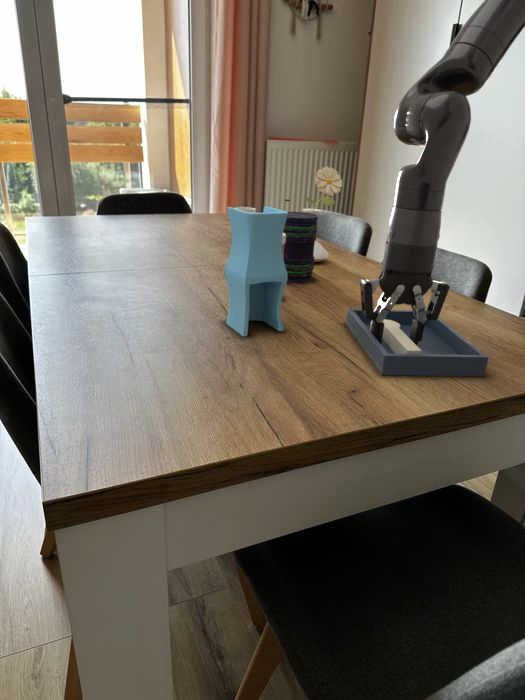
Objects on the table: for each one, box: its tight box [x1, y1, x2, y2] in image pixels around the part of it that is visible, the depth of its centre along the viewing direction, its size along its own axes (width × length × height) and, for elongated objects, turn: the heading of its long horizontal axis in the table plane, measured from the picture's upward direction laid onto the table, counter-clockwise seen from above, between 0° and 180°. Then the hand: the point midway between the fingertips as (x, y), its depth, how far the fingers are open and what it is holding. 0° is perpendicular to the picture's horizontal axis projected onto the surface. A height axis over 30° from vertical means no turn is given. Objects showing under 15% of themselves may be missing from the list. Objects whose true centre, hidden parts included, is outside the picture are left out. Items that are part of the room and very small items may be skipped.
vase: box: [224, 206, 289, 337], centre depth 87 cm, size 8×8×20 cm
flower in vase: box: [302, 165, 343, 263], centre depth 138 cm, size 13×11×25 cm
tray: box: [345, 308, 489, 377], centre depth 84 cm, size 16×22×3 cm
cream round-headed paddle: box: [370, 319, 421, 354], centre depth 83 cm, size 16×5×2 cm, turn 5°
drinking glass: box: [234, 206, 257, 213], centre depth 165 cm, size 7×7×10 cm
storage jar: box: [283, 199, 319, 284], centre depth 121 cm, size 10×10×18 cm
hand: (395, 342), depth 84 cm, fingers open, 5 cm apart
